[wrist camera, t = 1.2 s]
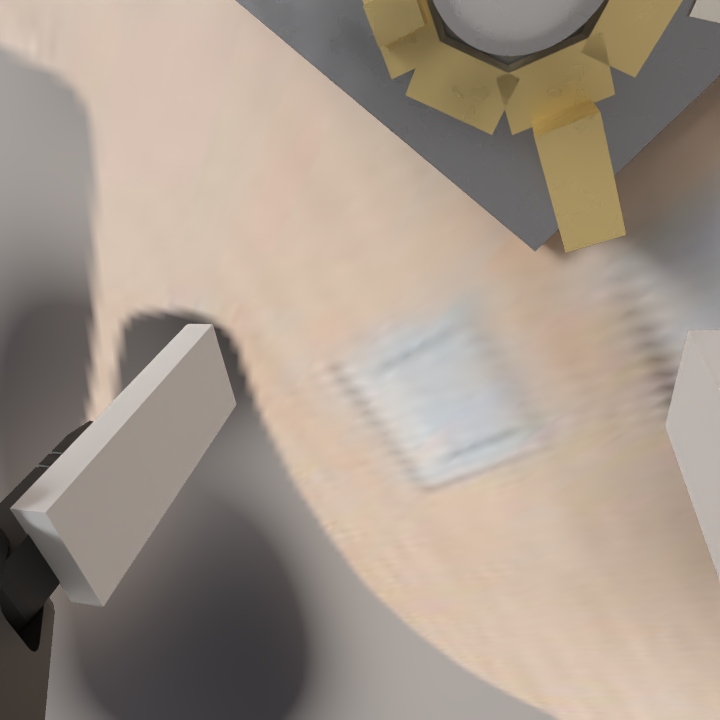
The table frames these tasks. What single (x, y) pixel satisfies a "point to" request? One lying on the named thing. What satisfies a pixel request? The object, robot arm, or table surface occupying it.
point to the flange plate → (502, 149)
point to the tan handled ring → (533, 95)
